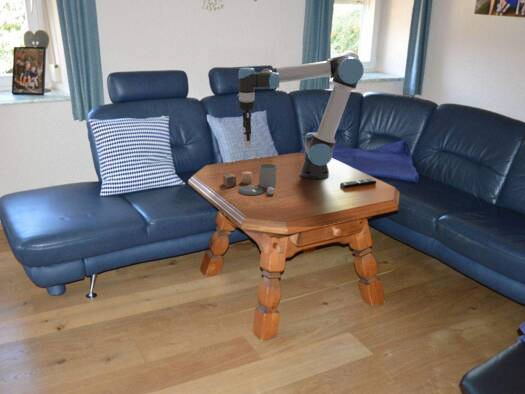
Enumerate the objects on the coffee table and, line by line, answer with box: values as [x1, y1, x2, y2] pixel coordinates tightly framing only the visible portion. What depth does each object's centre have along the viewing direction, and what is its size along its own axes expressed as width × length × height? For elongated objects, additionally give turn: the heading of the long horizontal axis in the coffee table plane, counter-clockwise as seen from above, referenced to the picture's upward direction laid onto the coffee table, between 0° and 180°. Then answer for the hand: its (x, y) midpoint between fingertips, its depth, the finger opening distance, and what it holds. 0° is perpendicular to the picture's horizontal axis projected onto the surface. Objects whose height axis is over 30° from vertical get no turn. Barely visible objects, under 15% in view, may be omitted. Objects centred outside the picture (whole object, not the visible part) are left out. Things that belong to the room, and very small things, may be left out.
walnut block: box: [222, 173, 237, 188], centre depth 257 cm, size 5×5×5 cm
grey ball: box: [266, 187, 275, 196], centre depth 245 cm, size 4×4×4 cm
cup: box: [258, 163, 277, 189], centre depth 257 cm, size 8×8×10 cm
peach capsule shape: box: [241, 171, 253, 185], centre depth 261 cm, size 5×5×5 cm
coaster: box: [238, 185, 264, 196], centre depth 249 cm, size 12×12×1 cm
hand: (247, 143), depth 255 cm, fingers open, 13 cm apart
